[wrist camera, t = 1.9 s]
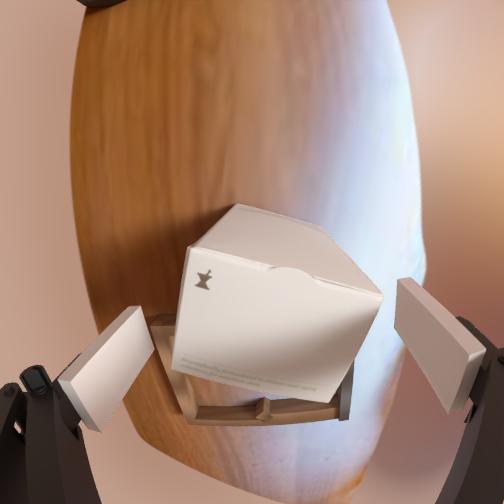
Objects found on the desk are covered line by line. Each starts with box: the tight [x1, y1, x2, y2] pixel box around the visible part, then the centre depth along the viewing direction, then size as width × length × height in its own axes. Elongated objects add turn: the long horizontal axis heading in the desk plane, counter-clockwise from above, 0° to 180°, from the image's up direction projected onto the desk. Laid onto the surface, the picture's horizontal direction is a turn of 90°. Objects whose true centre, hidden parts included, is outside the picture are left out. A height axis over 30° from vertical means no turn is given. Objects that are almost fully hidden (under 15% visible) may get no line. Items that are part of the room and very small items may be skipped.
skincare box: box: [171, 203, 384, 403], centre depth 18 cm, size 8×7×16 cm
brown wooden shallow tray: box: [150, 314, 355, 426], centre depth 29 cm, size 15×20×3 cm
